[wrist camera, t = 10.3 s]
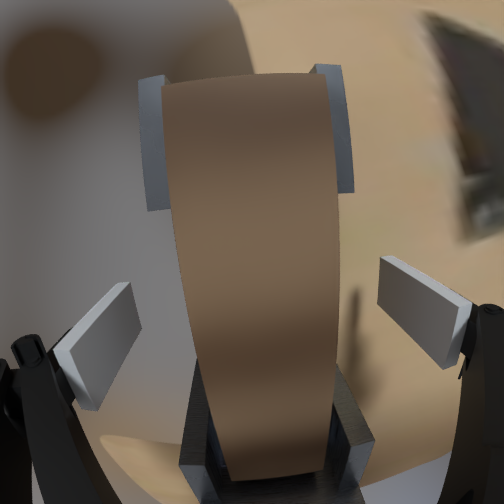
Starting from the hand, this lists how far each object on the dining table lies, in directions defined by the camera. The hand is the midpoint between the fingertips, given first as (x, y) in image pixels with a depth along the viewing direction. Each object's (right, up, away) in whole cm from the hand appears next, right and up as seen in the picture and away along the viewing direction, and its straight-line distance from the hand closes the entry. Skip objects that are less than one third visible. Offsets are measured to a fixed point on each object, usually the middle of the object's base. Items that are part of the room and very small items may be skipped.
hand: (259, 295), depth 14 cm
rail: (0, 0, +1) cm, 1 cm away
